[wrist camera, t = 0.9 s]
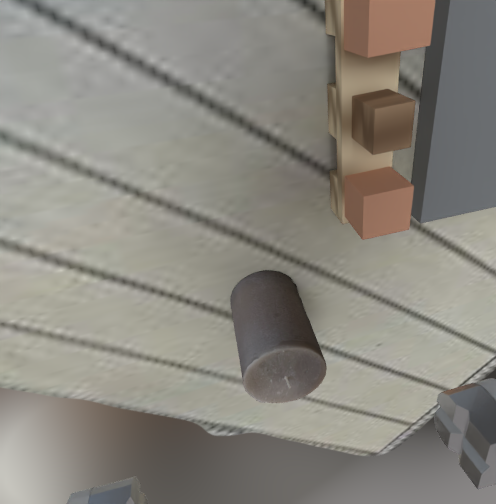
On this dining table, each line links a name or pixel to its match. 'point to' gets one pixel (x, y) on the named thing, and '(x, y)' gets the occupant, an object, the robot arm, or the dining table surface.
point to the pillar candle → (275, 339)
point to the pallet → (340, 104)
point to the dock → (457, 113)
